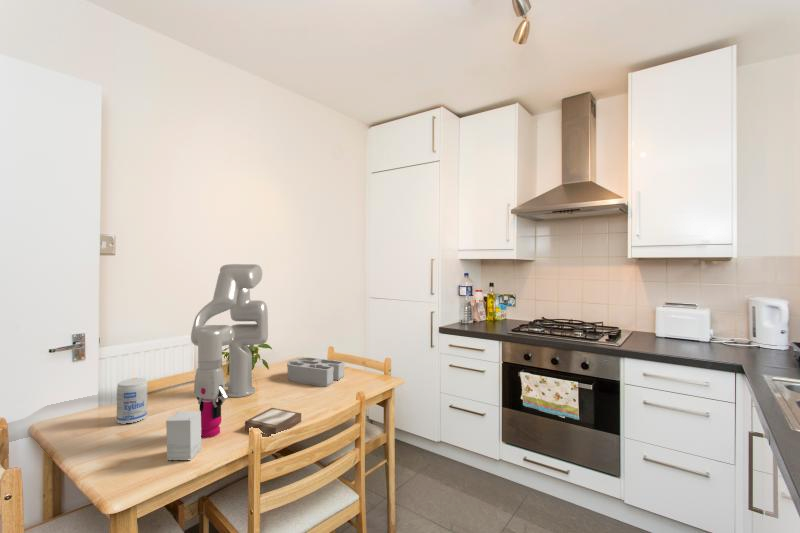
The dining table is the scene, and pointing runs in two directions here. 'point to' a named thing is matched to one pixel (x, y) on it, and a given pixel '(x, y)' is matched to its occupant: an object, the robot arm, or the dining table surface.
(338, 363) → the grey hollow block
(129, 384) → the supplement tub
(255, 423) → the base
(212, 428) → the pepper mill
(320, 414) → the dining table surface
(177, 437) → the supplement box
